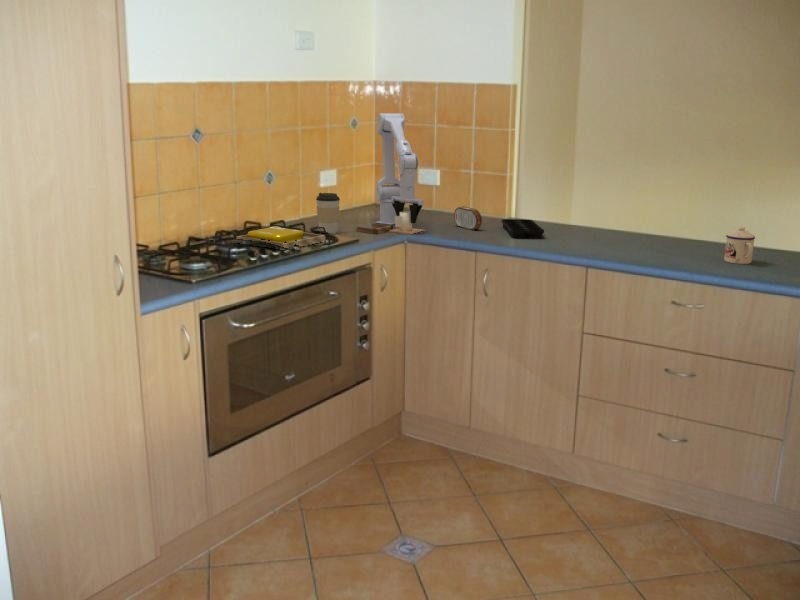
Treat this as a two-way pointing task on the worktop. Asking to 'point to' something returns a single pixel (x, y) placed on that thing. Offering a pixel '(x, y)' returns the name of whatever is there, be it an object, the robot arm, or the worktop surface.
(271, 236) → the element tile
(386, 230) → the holder
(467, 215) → the brown speaker
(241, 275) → the worktop surface
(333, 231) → the coffee cup
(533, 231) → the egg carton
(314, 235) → the corral
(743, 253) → the teacup with lid
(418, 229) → the plate
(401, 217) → the jug
